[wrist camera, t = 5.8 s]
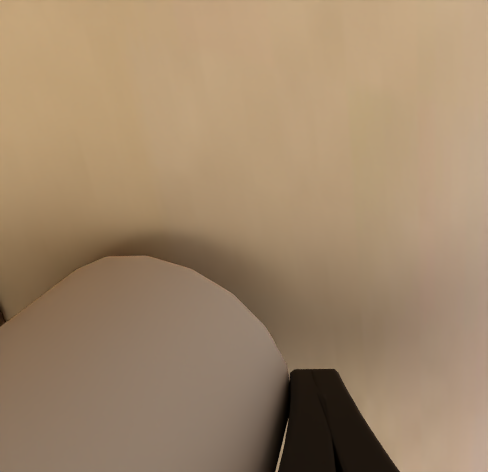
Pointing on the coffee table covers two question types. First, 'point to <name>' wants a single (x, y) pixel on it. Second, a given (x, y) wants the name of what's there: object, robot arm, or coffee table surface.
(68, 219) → the coffee table surface
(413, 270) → the coffee table surface
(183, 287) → the can
